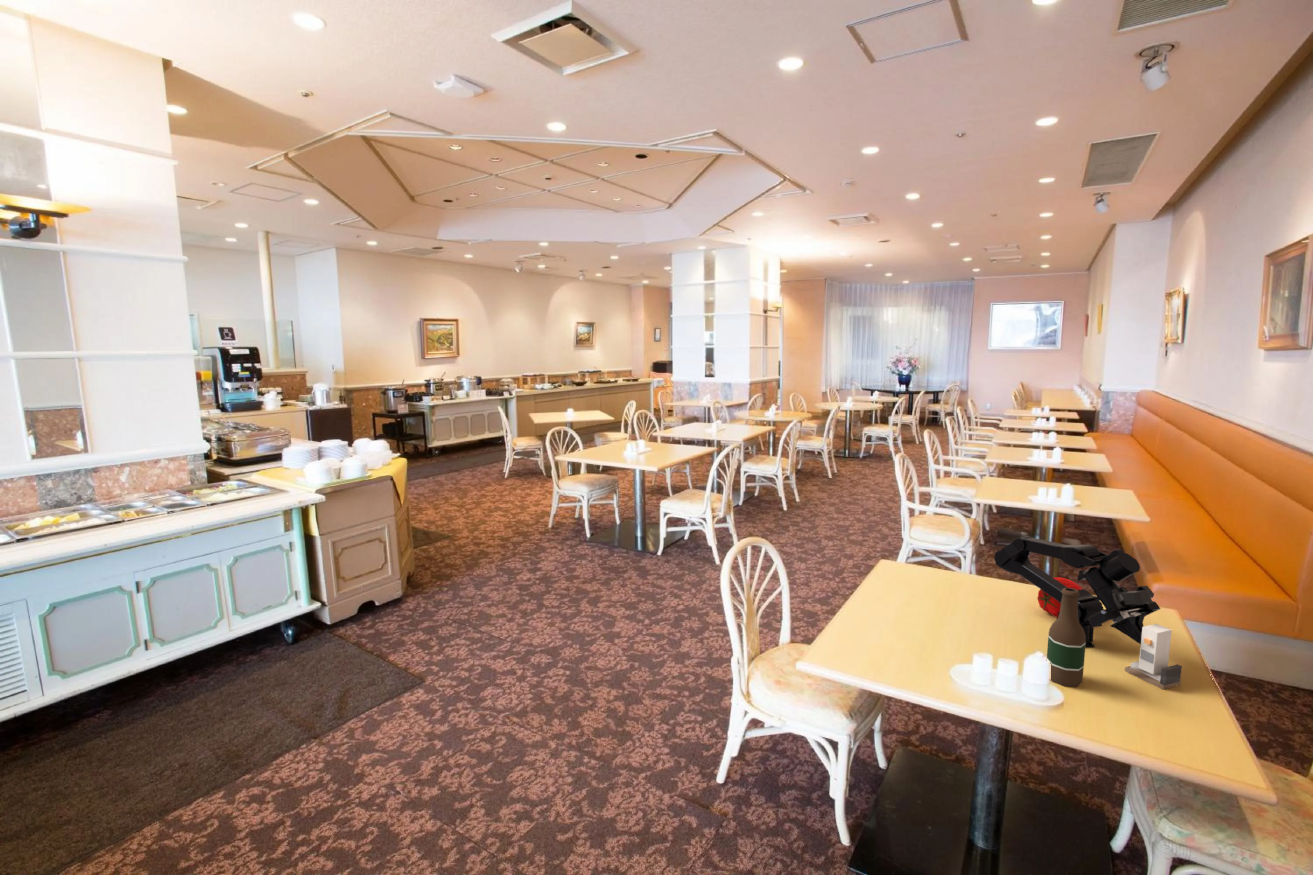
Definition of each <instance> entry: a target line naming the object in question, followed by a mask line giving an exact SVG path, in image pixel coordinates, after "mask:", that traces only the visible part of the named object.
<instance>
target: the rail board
mask: <svg viewBox="0 0 1313 875" xmlns="http://www.w3.org/2000/svg"><path fill="white" fill-rule="evenodd" d="M1138 667H1139V660H1138V661H1134V662H1130V665H1129V666H1125V667H1124V672H1126V673H1128V674H1130V675H1132V676H1134V677H1137V678H1138V679H1141V680H1143V681H1145V682H1147V683H1149V684H1151V685H1153V686H1154V687H1158V688H1160V689H1161V690H1166V689H1170V688H1173V687H1177V686H1181V685H1182V684H1181V682H1182V681H1181V677H1182V665H1179V664H1178V663H1177V664H1174V665H1170V666H1169V665H1168V667H1165V668H1162V669H1161V673H1158V674H1154V675H1153V674H1151V673H1149V672H1147V671H1144V670H1142V669H1140V668H1138Z"/></svg>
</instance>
